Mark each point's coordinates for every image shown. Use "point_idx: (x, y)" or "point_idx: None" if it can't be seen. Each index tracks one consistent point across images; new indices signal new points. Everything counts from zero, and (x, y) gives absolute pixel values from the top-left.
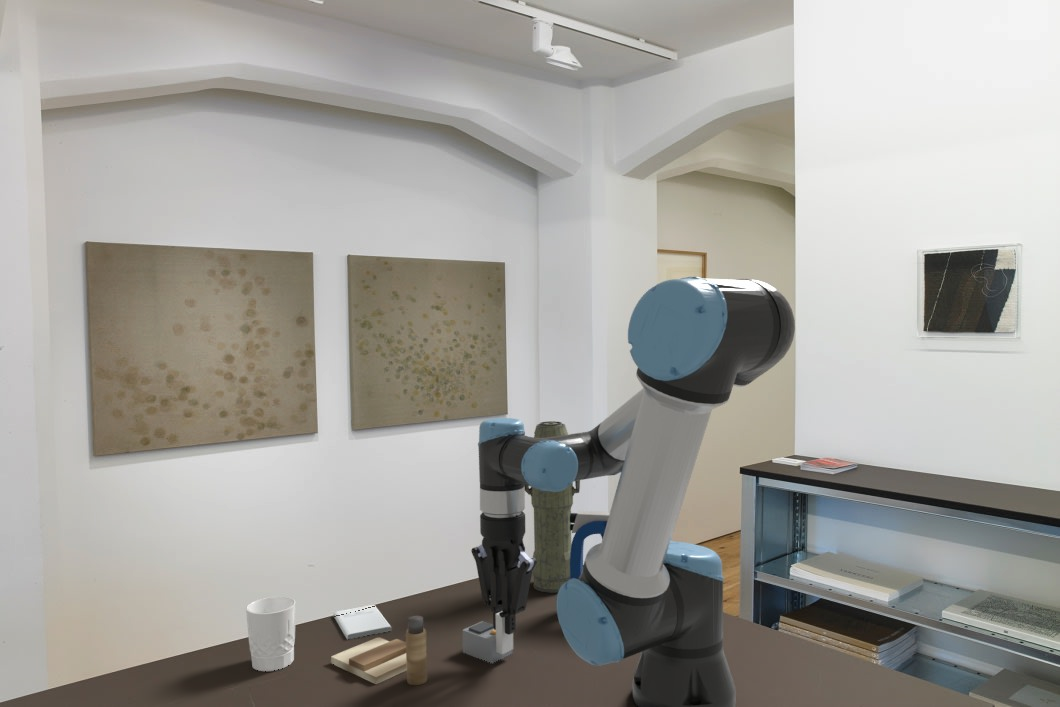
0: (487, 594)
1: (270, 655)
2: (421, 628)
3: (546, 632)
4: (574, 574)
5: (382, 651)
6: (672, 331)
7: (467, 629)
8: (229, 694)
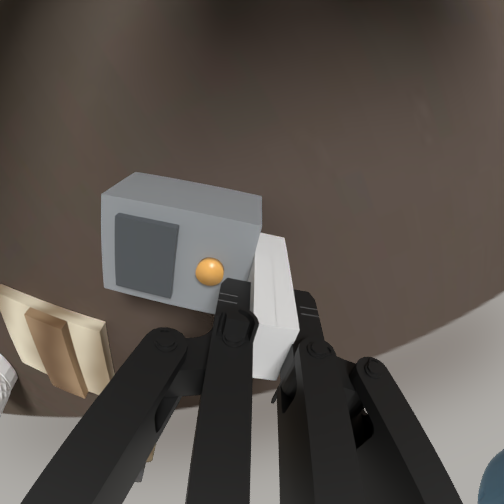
0: (164, 423)
1: (10, 393)
2: (144, 465)
3: (288, 4)
4: None
5: (56, 360)
6: None
7: (112, 278)
8: (45, 412)
